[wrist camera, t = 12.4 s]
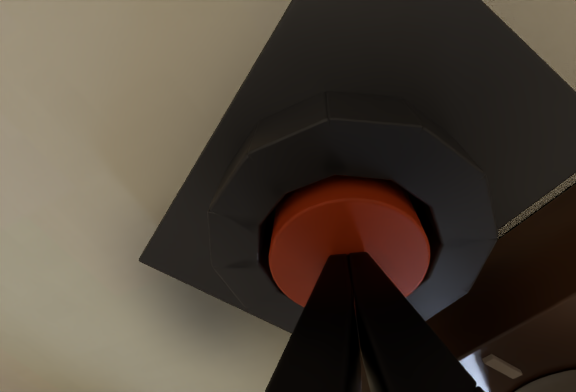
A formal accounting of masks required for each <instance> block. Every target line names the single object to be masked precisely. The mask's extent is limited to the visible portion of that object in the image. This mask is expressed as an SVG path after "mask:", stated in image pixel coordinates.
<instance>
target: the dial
mask: <svg viewBox="0 0 576 392" xmlns="http://www.w3.org/2000/svg"><path fill="white" fill-rule="evenodd" d="M515 392H576V369H575V370H569V371H564V372H559V373H556V374H552V375H548V376H545V377H542V378H540V379H537V380H535V381H532V382H530V383H528V384H526V385H524V386H522V387H521V388H519V389H518V390H516V391H515Z"/></svg>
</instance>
